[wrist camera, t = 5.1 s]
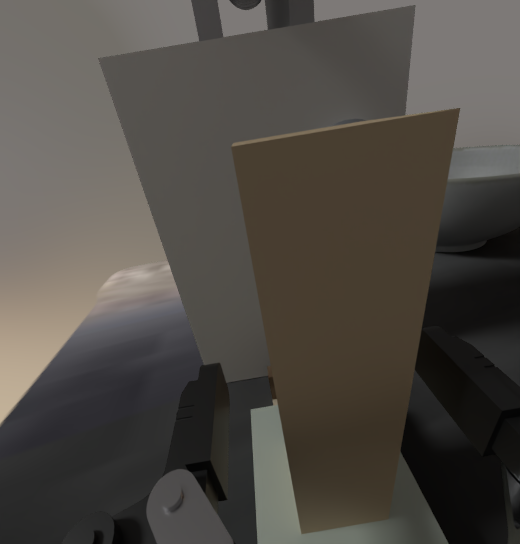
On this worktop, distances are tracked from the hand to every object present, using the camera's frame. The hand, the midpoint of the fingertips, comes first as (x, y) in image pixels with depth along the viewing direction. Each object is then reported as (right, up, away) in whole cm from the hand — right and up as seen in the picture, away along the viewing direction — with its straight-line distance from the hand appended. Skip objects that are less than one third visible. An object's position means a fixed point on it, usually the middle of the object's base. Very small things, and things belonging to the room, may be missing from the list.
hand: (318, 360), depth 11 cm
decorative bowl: (+28, +9, +33) cm, 44 cm away
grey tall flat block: (+1, -4, +17) cm, 17 cm away
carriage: (+2, -10, +4) cm, 11 cm away
